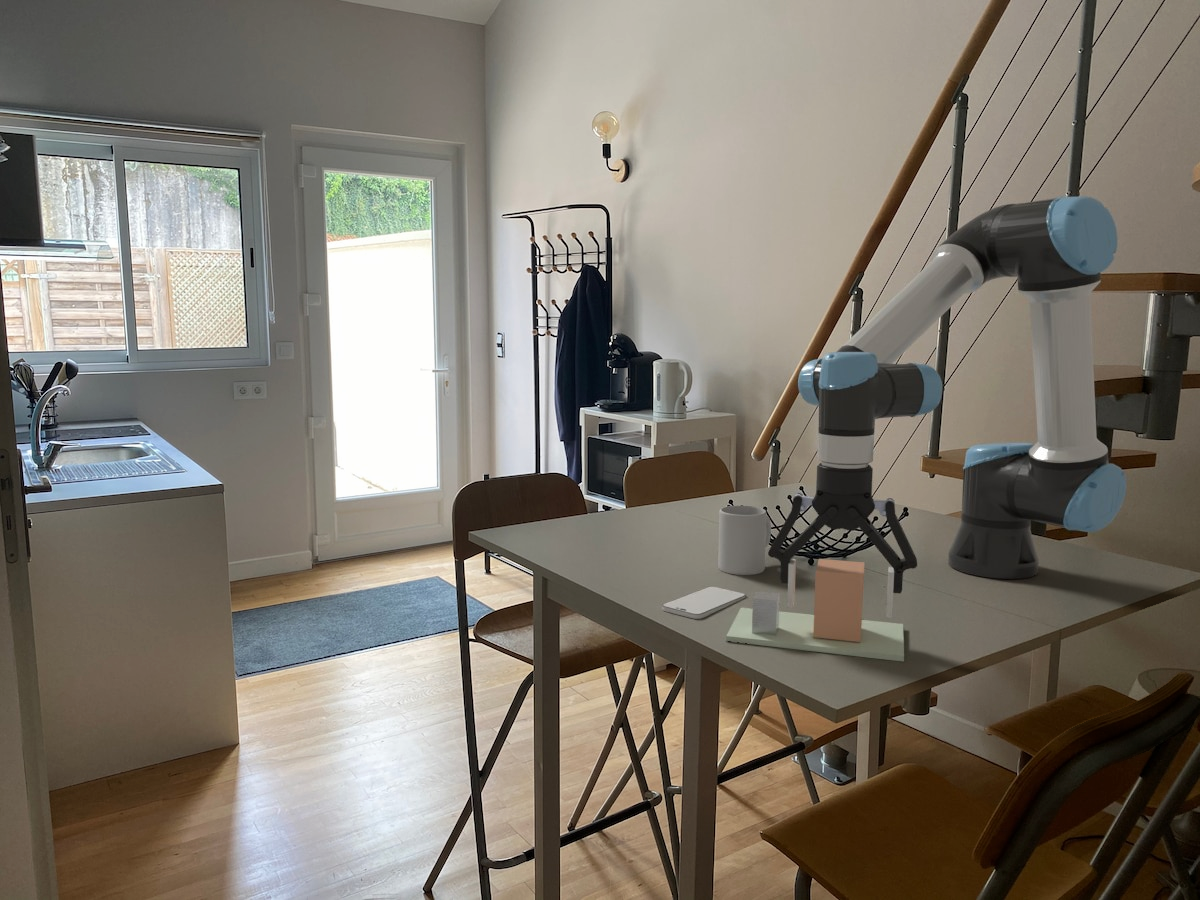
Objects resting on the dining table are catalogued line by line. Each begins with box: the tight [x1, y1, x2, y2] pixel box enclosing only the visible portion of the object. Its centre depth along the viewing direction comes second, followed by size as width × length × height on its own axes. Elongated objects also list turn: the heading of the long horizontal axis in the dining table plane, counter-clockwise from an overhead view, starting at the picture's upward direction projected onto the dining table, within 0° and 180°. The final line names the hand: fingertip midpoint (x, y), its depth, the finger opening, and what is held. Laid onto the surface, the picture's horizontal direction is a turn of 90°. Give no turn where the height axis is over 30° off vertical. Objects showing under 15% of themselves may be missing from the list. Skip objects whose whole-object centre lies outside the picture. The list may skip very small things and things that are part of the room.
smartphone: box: [661, 586, 747, 620], centre depth 143 cm, size 7×1×15 cm
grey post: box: [752, 591, 781, 636], centre depth 128 cm, size 3×3×6 cm
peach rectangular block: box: [813, 558, 866, 642], centre depth 126 cm, size 6×6×10 cm
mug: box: [717, 505, 772, 576], centre depth 162 cm, size 12×8×11 cm
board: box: [725, 607, 905, 662], centre depth 128 cm, size 24×13×1 cm, turn 72°
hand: (839, 609), depth 126 cm, fingers open, 13 cm apart
